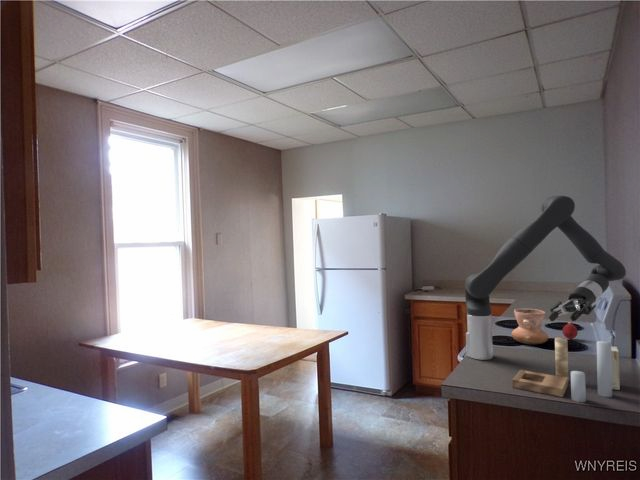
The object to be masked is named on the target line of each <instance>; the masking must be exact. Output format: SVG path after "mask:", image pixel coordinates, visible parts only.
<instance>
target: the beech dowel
mask: <svg viewBox="0 0 640 480" xmlns="http://www.w3.org/2000/svg"><path fill="white" fill-rule="evenodd" d="M568 346H569V345H568V338H566V337H565V338H564V337H555V338H554V355H555V356H554V358H555V360H554V361H555V376H560V377H566V378H568V379H569V350H568V348H569V347H568Z"/></svg>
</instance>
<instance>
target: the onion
mask: <svg viewBox="0 0 640 480" xmlns="http://www.w3.org/2000/svg"><path fill="white" fill-rule="evenodd" d="M578 333H579V332H578V328H577V327H576V326H575V325H574V324H573V323H572V321H571V322H569V321H568V322H567V324H565V325H564V326H563V328H562V334H563V336H564V337H565V339H567V340H570V341H572V340H573V339H575V338H576V337H577V336H578Z"/></svg>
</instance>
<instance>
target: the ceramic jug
mask: <svg viewBox="0 0 640 480" xmlns="http://www.w3.org/2000/svg"><path fill="white" fill-rule="evenodd" d="M513 314H514V317H515V320H516V322H517V324H518V326H517V327H516V328H515V329H513V330H512V331H511V337H512V338H513V339H514V340H515V341H516V342H519V343H520V344H525V345H541V344H545V343H546V342H547V341H548V339H549V335H548V333H546V331H544V330H543V329H542V328H541V326H542V324H543V321H544V319H545V317H546V312H545V311H544V310H541V309H535V308H515V309H513Z"/></svg>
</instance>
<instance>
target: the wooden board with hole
mask: <svg viewBox="0 0 640 480" xmlns="http://www.w3.org/2000/svg"><path fill="white" fill-rule="evenodd" d="M568 384H569V377H568V378H566V377H560V376H556V375H553V374H547V373H542V372H541V373H540V372H536V371H535V372H534V371H529V370H524V369H520V370H518V372H517V373H516V374H515V376H514V377H513V378H512V388H514V389H518V390H519V389H520V390H525V391H529V392H533V393H534V392H535V393H540V394H545V395H549V396H550V395H551V396H556V397H560V398H563V397H564V395H565V393H566V390H567V388H568V386H569V385H568Z"/></svg>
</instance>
